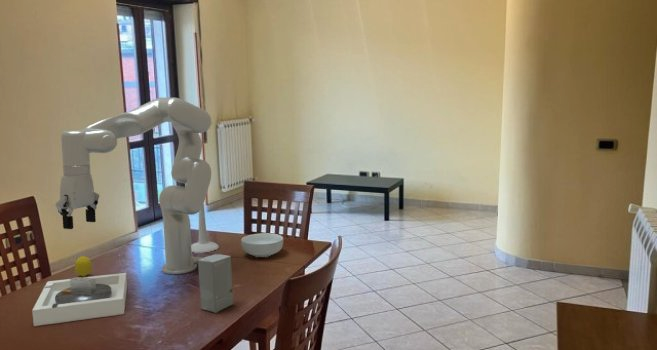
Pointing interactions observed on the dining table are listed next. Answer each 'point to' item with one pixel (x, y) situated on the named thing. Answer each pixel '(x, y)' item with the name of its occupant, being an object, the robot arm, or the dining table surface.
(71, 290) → the dial
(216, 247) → the candlestick
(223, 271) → the skincare box
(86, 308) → the dial housing
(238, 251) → the dining table surface
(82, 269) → the lemon
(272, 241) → the cereal bowl
